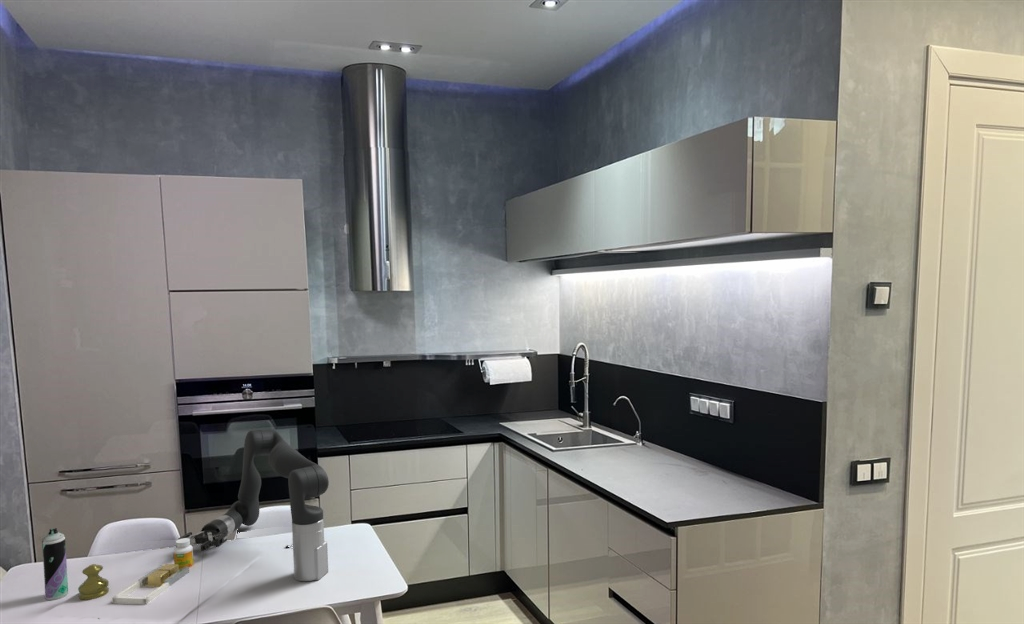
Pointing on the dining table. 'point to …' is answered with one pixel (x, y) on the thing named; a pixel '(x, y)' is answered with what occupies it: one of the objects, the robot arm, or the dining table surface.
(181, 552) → the supplement bottle
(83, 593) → the gold metal knob shape
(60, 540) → the spray can
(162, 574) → the tan block
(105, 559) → the dining table surface
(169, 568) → the chip
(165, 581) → the rail
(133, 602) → the tray
